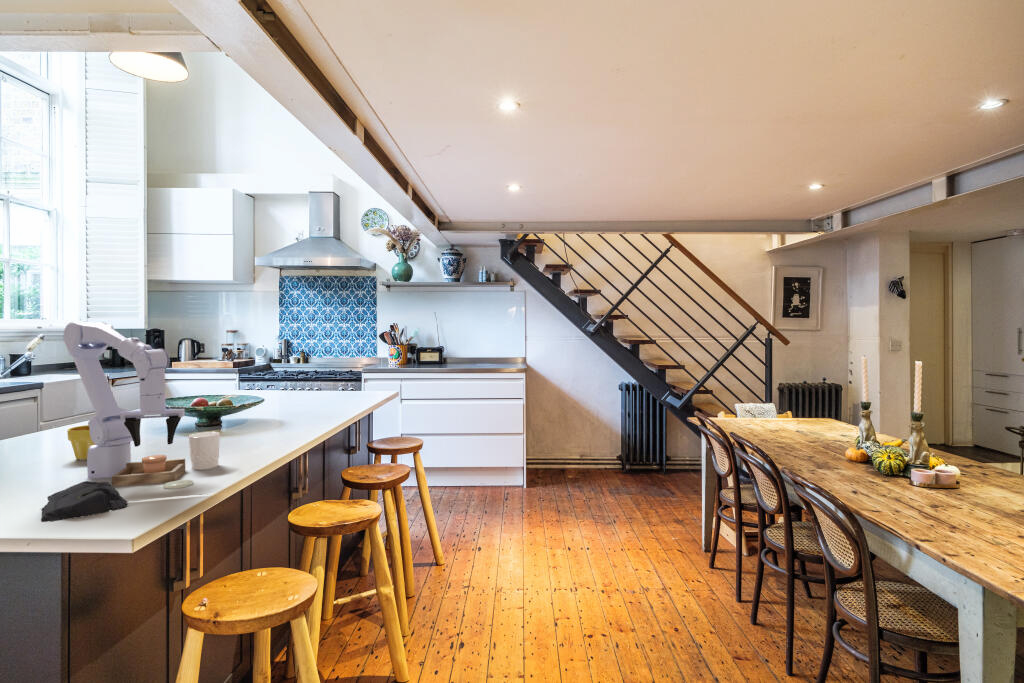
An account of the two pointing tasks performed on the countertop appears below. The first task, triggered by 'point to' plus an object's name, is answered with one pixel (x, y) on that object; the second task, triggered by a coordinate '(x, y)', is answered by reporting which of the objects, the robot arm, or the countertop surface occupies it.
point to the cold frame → (136, 476)
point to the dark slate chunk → (82, 501)
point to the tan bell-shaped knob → (154, 464)
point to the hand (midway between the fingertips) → (154, 444)
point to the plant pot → (80, 440)
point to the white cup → (204, 450)
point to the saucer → (178, 484)
